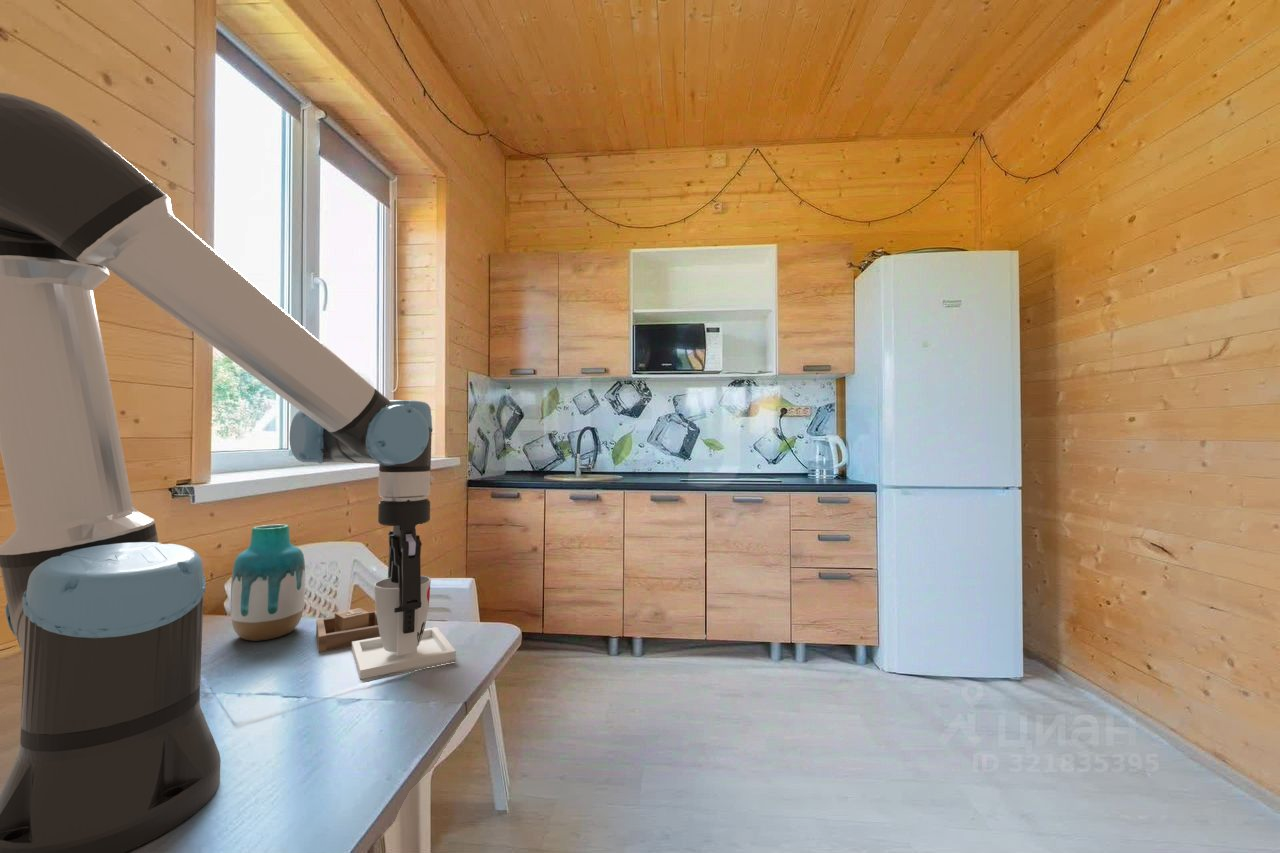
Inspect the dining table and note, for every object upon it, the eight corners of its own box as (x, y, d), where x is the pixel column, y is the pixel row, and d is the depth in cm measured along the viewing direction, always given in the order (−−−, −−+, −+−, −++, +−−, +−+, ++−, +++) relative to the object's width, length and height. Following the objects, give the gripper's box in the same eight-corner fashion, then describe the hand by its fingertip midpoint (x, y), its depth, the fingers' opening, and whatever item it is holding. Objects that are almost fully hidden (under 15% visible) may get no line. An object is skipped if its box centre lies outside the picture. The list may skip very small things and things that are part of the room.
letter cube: (368, 636, 92) (368, 612, 92) (343, 642, 89) (343, 617, 89) (359, 630, 94) (359, 607, 94) (334, 636, 91) (334, 612, 91)
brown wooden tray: (387, 643, 90) (388, 625, 90) (318, 655, 84) (318, 636, 85) (379, 626, 98) (379, 609, 98) (316, 636, 93) (316, 619, 93)
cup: (408, 658, 79) (410, 589, 79) (360, 653, 81) (362, 586, 81) (439, 638, 87) (440, 576, 87) (395, 634, 89) (396, 574, 89)
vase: (238, 632, 95) (241, 524, 96) (308, 624, 99) (310, 520, 100) (221, 653, 85) (224, 533, 86) (299, 643, 90) (301, 528, 90)
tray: (455, 662, 82) (455, 650, 82) (360, 683, 75) (360, 670, 75) (436, 637, 93) (436, 626, 93) (351, 653, 86) (351, 641, 86)
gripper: (444, 502, 78) (442, 661, 77) (417, 492, 95) (415, 622, 94) (388, 505, 74) (385, 673, 73) (370, 494, 91) (367, 630, 90)
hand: (402, 644), depth 84 cm, fingers closed on cup, 8 cm apart
